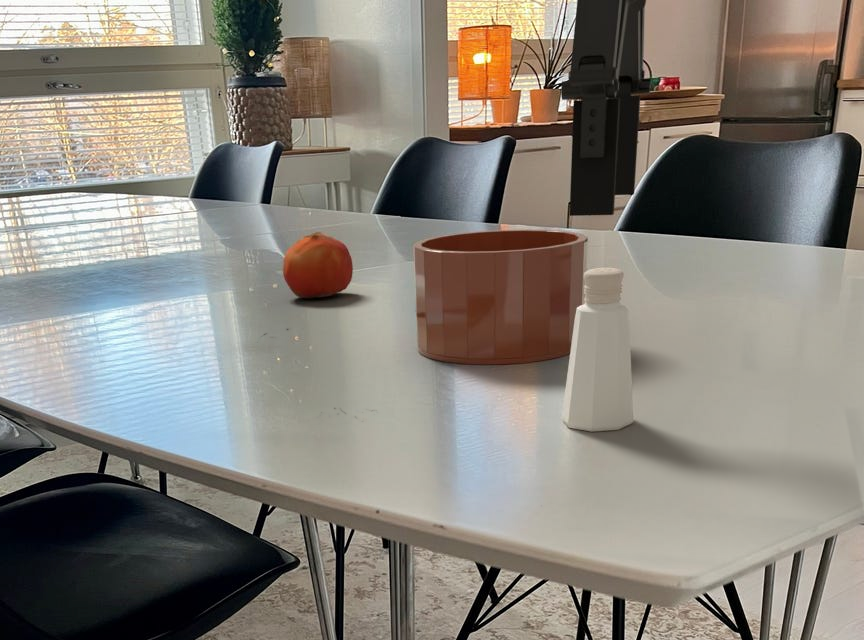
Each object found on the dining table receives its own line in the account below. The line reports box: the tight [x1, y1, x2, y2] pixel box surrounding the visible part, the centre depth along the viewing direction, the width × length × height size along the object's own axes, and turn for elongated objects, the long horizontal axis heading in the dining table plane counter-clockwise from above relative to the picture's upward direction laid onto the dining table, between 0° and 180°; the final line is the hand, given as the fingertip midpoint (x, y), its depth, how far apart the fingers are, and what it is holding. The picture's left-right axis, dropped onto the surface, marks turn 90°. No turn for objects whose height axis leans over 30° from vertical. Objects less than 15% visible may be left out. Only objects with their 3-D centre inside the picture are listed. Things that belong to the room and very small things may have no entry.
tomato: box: [282, 231, 354, 299], centre depth 134 cm, size 9×9×8 cm
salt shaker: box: [561, 267, 634, 433], centre depth 75 cm, size 5×5×11 cm
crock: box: [412, 229, 589, 366], centre depth 101 cm, size 17×17×10 cm
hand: (604, 204), depth 71 cm, fingers open, 13 cm apart
